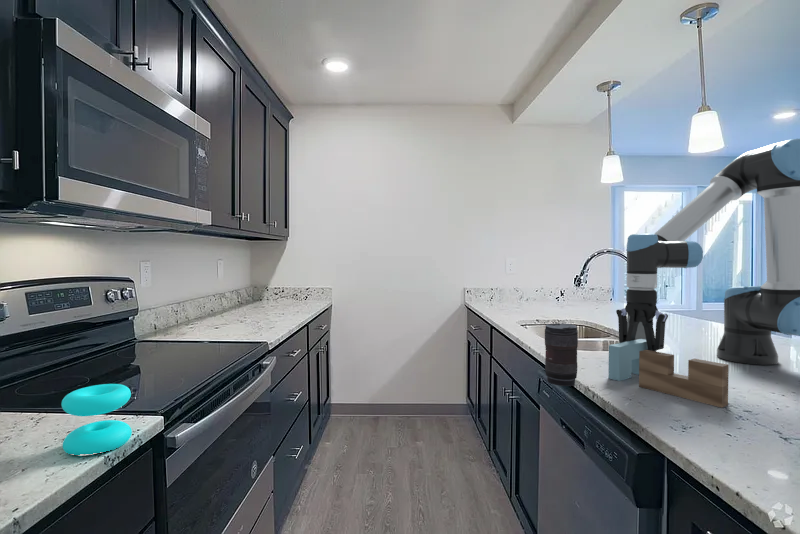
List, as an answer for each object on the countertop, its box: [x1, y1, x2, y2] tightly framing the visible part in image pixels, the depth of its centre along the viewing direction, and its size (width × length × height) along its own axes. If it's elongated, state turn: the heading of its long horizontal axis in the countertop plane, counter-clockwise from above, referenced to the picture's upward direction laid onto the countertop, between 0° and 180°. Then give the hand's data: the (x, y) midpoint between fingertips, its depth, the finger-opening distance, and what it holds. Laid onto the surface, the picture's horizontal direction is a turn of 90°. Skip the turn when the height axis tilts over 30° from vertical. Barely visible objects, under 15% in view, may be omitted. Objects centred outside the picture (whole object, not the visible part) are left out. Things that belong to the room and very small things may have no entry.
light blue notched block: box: [607, 339, 648, 382], centre depth 120 cm, size 16×3×9 cm, turn 122°
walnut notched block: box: [638, 350, 730, 409], centre depth 102 cm, size 3×18×9 cm, turn 32°
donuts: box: [61, 383, 133, 455], centre depth 76 cm, size 10×10×10 cm
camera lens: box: [544, 322, 579, 387], centre depth 113 cm, size 8×8×15 cm
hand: (640, 371), depth 122 cm, fingers open, 4 cm apart
